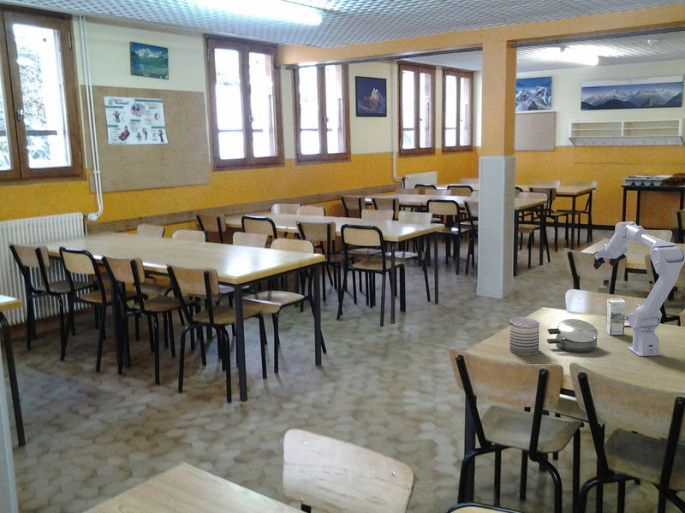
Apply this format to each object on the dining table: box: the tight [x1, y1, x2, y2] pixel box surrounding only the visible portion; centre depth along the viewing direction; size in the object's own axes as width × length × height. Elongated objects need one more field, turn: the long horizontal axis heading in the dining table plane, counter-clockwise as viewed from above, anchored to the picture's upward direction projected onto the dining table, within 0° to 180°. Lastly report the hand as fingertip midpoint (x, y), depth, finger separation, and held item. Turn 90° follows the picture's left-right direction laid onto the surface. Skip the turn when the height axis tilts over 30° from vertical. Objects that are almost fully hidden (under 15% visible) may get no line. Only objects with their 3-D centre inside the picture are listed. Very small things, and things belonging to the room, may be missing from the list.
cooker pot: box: [546, 334, 598, 354], centre depth 254 cm, size 15×19×4 cm
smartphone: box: [624, 316, 632, 328], centre depth 285 cm, size 7×1×15 cm
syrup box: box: [605, 298, 627, 336], centre depth 268 cm, size 6×6×14 cm
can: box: [508, 316, 541, 356], centre depth 252 cm, size 11×11×12 cm
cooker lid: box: [547, 318, 599, 343], centre depth 253 cm, size 15×19×1 cm
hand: (603, 265), depth 269 cm, fingers open, 7 cm apart
